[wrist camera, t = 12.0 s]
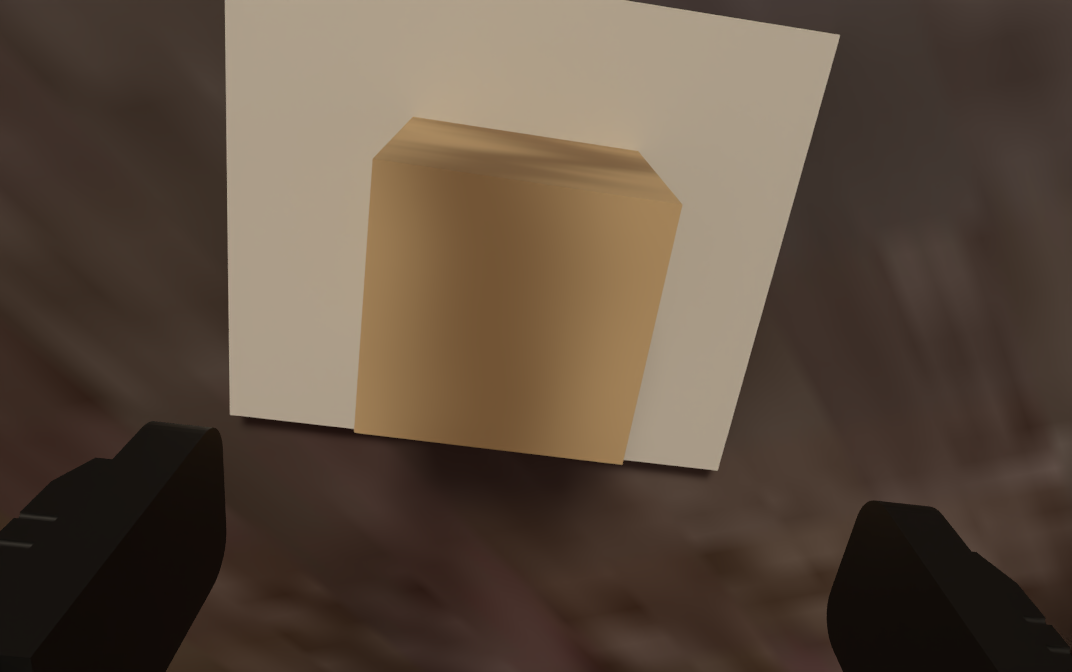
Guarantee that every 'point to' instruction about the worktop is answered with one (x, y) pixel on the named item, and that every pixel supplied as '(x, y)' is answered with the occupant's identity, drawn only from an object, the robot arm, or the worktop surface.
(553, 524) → the worktop surface
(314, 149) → the plate
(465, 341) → the maple block
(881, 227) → the worktop surface
